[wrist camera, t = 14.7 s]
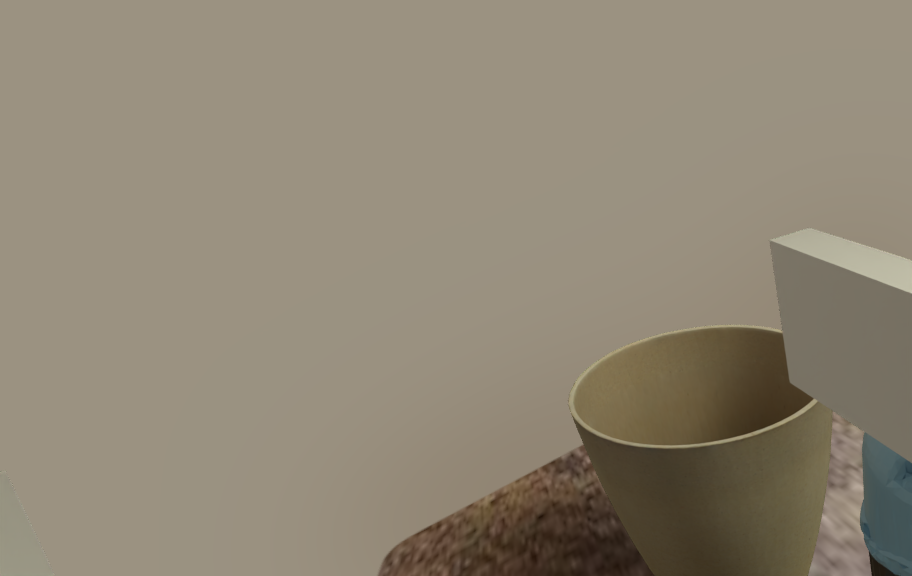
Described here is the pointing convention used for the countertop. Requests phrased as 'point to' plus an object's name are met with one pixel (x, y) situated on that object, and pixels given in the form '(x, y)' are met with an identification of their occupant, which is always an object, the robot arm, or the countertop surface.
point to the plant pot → (708, 451)
